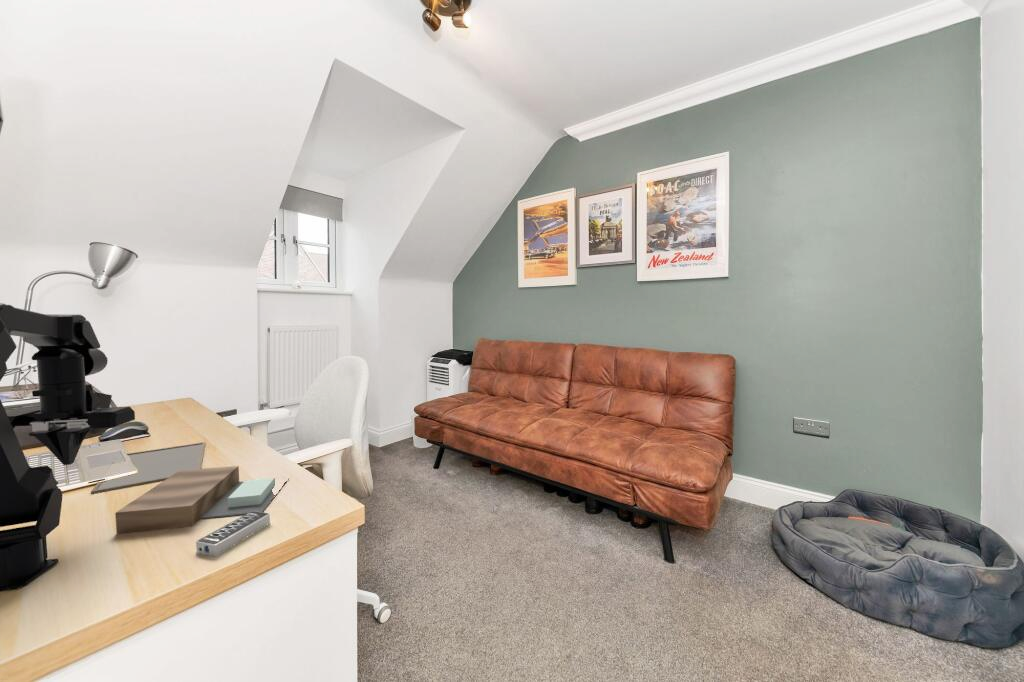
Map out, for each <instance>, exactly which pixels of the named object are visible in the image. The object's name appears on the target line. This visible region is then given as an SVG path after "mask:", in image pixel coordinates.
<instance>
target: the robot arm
mask: <svg viewBox="0 0 1024 682" xmlns="http://www.w3.org/2000/svg"><path fill="white" fill-rule="evenodd" d="M92 326H93V325H92V323H91V322H90V321H89V320H87V318H86V317H85V316H83V315H82V314H49V313H47V314H44V313H40V312H37V311H31V310H27V309H24V308H23V309H22V308H18V307H14V306H13V305H11V304H6V303H3V302H0V382H1V380H2V379H3V377H4V376H5V374H6V372H8V367H7V364H6V362H8V360H9V359H10V357H11V356H12V354H14V352H15V351H16V349H17V344H16V342H15V341H14V339H13V337H12V336H14V337H20V338H21V337H22V341H23V342H25V343H27V344H30V345H31V346H33V347H35V348H36V349H37V350H38V351H35V352H34V353H33V355H32V356H31V360H32V361H36V368H37V369H36V370H37V381H38V389H35V390H31V394H32V397H39V405H40V406H39V408H40V409H37V410H16V411H11V412H8V413H7V412H6V409H5V407H4V404H3V402H2V400H1V399H0V528H2V527H10V526H15V525H22V524H27V523H35V524H32V525H26V526H25V525H24V526H20V527H14V528H8V529H3V530H0V591H6V590H12V589H13V590H14V589H19V588H22V587H24V586H25V585H27V584H28V583H30V582H31V581H33V580H34V579H36V578H37V577H38V576H40V575H42V574H43V573H45V572H47V570H49V569H51V568H52V567H53V566H55V565H56V564H58V563H59V558H50V559H48V547H47V545H48V544H47V543H48V542H47V536H48V535H49V534H50V533H51V532H53V531H54V530H55V529H56V528H57V527H58V526H59V525H60V521H61V512H62V504H63V492H62V489H60V488H59V487H58V484H59V482H58V481H57V480H56V478H55V475H54V471H53V469H52V467H49V466H48V465H41V466H34V467H32V466H30V464H29V463H28V460H27V458H26V456H25V453H24V450H23V449H22V446H21V444H20V442H19V440H18V436H17V434H16V432H15V430H14V429H15V428H16V427H28V426H29V427H31V428H32V429H31V432H29V433H28V436H29V437H34V438H35V439H36V440H37V441H39V442H40V443H41V444H43V445H44V446H45V447H46V448H47V449H48V450H49V451H50V452H51V453H52V454H53V455H54V457H56V459H58V461H59V462H60V463H62V465H64V466H70V465H72V464H74V462H75V461H76V458H77V455H78V453H79V450H80V449H81V446H82V443H83V441H84V440H85V438H86V437H87V435H88V434H89V433H90V431H92V429H109V428H115V427H118V426H121V425H124V424H128V423H129V422H133V421H135V420H136V413H135V410H133V408H132V407H131V406H112V407H111V403H112V396H113V395H112V394H107V393H103V392H95V391H94V388H93V385H92V384H86V377H88V376H91V375H95V374H98V373H100V372H101V371H103V370H104V369H105V368H106V367H107V365H108V357H107V356H106V354H105V352H103V351H102V350H100V348H101V344H100V342H99V340H98V337H97V335H96V333H95V330H94V328H93V327H92Z"/></svg>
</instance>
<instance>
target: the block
mask: <svg viewBox="0 0 1024 682" xmlns="http://www.w3.org/2000/svg"><path fill="white" fill-rule="evenodd" d="M275 479H276V478H275V477H268V478H267V477H266V478H258V479H256V478H255V479H245V480H244V482H243V481H242V482H243V483H242V484H241V485H240V486H239V487H238V488H237V489H236V490H235V491H234V492H233V493H232V494H231V495H230V496H229V497H228V508H229V507H238V506H248V505H258V504H261V503H262V502H263V501H264V499H265V498H266V497H267V496H268V494H269V493H270V492H271V490H272V489H273V488H274V486H275Z"/></svg>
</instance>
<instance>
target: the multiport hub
mask: <svg viewBox="0 0 1024 682" xmlns="http://www.w3.org/2000/svg"><path fill="white" fill-rule="evenodd" d="M270 516H271V515H270V512H269V513H268V512H264V511H263V512H257V511H251V512H249V513H247V514H246V515H241V516H240V517H239V518H237V519H236V518H235V520H233V521H231V522H229V523H227V524H225V525H224V526H221V527H220V528H218V529H216V530H215V531H213V532H210V533H209V534H207V535H204V536H203V537H202V538H201V537H200V539H197V540H196V541H195V546H196V547H195V548H196V553H197V554H199V555H200V554H202V555H205V556H209V557H217V556H219V555H221V554H222V553H224V552H226V551H228V550H229V549H231V548H232V547H234V546H235V545H234V544H236V543H237V542H239V541H240V540H242V539H244V538H246V537H247V536H249V535H250V536H252V535H253V534H252V533H254V532H255V533H257V532H258V531H257V530H259V529H260V530H262V529H263V528H262V527H264V526H265V527H267V526H268V525H267V524H269V523H271V517H270ZM266 525H267V526H266ZM269 525H270V524H269ZM265 527H264V528H265ZM261 528H262V529H261ZM260 530H259V531H260ZM256 531H257V532H256ZM255 533H254V534H255ZM251 534H252V535H251ZM250 536H249V537H250ZM247 538H248V537H247ZM247 538H246V539H247ZM244 540H245V539H244ZM242 541H243V540H242ZM239 543H240V542H239ZM237 544H238V543H237ZM237 544H236V545H237ZM233 545H234V546H233ZM231 546H232V547H231ZM230 547H231V548H230ZM228 548H229V549H228ZM225 550H226V551H225ZM223 551H224V552H223ZM221 552H222V553H221ZM220 553H221V554H220ZM218 554H219V555H218ZM216 555H217V556H216Z"/></svg>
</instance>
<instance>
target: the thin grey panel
mask: <svg viewBox="0 0 1024 682" xmlns="http://www.w3.org/2000/svg"><path fill="white" fill-rule="evenodd" d="M205 448H206V442H205V441H204V442H198V443H197V442H196V443H190V444H183V445H177V446H171V447H163V448H157V449H150V450H143V451H137V452H128V453H126V454H127V455H128V456H129V457H130V459H131V462H132V464H133V465H134V466H135V467H136V468H137V469H138V473H136V474H133V475H130V476H124V477H121V478H117V479H114V480H108V481H106V482H103V483H102V482H100V483H98V482H97V483H96V484H95V486H94V487H93V489H91V491H90V494H91V495H93V494H99V493H104V492H108V491H114V490H120V489H124V488H125V489H126V488H131V487H135V486H142V485H147V484H152V483H158V482H159V483H160V482H163V481H164V480H166V479H168V478H169V477H171V476H172V475H174V474H175V473H177V472H178V471H180V470H191V469H202V466H203V460H204V455H205Z"/></svg>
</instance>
